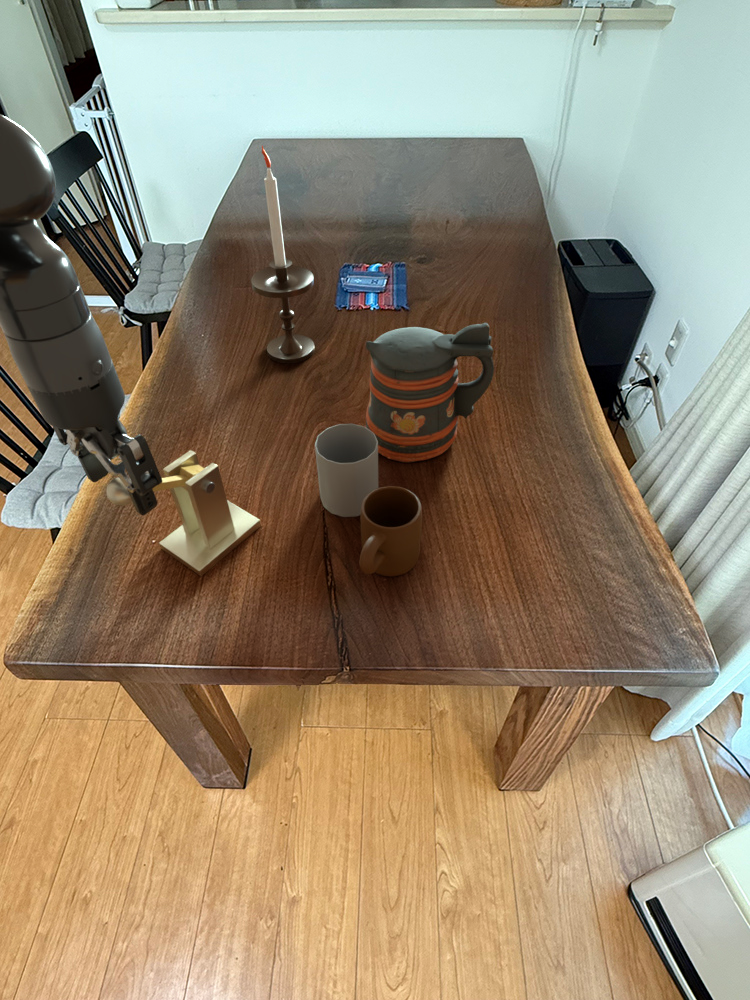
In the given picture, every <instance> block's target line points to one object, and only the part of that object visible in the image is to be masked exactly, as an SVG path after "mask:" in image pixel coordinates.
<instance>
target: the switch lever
mask: <svg viewBox="0 0 750 1000" xmlns="http://www.w3.org/2000/svg"><path fill="white" fill-rule="evenodd" d="M205 468H206V467H203V466H202V465H201V464H199V465H193V466H187V467H181V469H180V475H177V476H171V477H166V476H165V477H161V478H162V483H160V484H159V485H157V486H156V487H154V488H153V492H154V493H156V492H160V491H165V490H170V488H176V487H182V488H184V489H185V490H187V487H186V484H185V482H187V481H188V480H189V479H191V478H192V477H194V476H195V475H196V474H198V473H199V472H200V471H202V470H203V469H205ZM187 491H188V490H187ZM106 497H107V498H108V501H110V502H111V503H112V504H113V505H116V506H118V507H126V506H129V505H131V504H133V502H132V500H131V497H130V495H129V493H128V490H127V488H126V486H125V485H124V484H123V482H122V481H121V480H120V479H119V477H118V476H117V477H115V478H113V479H112V480H111V481H109V483H108V484H107V486H106Z"/></svg>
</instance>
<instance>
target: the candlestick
mask: <svg viewBox="0 0 750 1000" xmlns="http://www.w3.org/2000/svg"><path fill="white" fill-rule="evenodd" d="M261 154H262V156H263V159H264V162H265V165H266V168H267V169H266V177H264V178H263V180H264V188H265V196H266V205H267V212H268V219H269V225H270V226H269V228H270V235H271V245H272V251H273V258H274V259H273V260H271V261H269V263H268V266H267V267H264V268H262V269H260V270H257V271H256V272H255V273H253V275H252V276H251V279H250V283H251V288H252V290H253V292H255V293H256V294H258V295H259V296H262V297H266V298H271V299H280V302H281V309H282V310H281V311H279V312H278V317H279V319H280V320H281V321H282V322H283V323H282V324H281V329H282V330H283V331H284V333H285V334H283V335H280V336H277V337H275V338H273V339H271V340H270V341H269V342H268V344H267V347H266V352H267V355H268V357H269V359H271V360H273V361H274V362H276V363H279V364H296V363H297V364H298V363H301V362H304V361H306V360H308V359H309V358H311V357H312V356H313V355H314V353H315V350H316V349H315V343H314V341H313V339H311V338H310V337H308V336H305V335H302V334H294V333H293V330H294V329H296V326H295V323H293V322H292V320H293V319H294V317H295V311H293V310H292V309H290V300H289V299H290V298H293V297H297V296H301V295H303V294H305V293H307V292H309V291H310V290H311V289H312V288H313V287H314V282H315V281H314V274H313V273H312V271H311V270H309V269H307V268H306V267H304V266H300V265H296V264H295V265H294V264H293V262H292V260H291V259H288V258H286V252H285V244H284V236H283V226H282V217H281V216H282V215H281V208H280V201H279V199H280V198H279V192H278V191H279V190H278V183H277V178H276V177H275V176H274V175H273V172H272V169H271V165H272V162H271V160H270V157H269V155H268V154H267V152H266V150H265V149H264V145H261Z"/></svg>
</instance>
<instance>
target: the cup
mask: <svg viewBox="0 0 750 1000" xmlns="http://www.w3.org/2000/svg"><path fill="white" fill-rule="evenodd" d="M314 451H315V458H316V459H315V460H316V461H315V462H316V468H317V469H316V470H317V479H318V487H319V488H318V489H319V498H320V501H321V505H322V507H323V508H325V510H327V512H329V513H330V514H331V515H336V516H339V517H341V518H355V517H359V516H361V505H362V502H363V500H364V498H365V497H366V496H367V495H368V494H369V493H370V492H371V491H373V490H375V489H377V488H379V453H378V441H377V438H376V436H375V434H374V433H373V432H372V431H370V430H369V429H367V428H366V427H365V426H363V425H360V424H355V423H339V424H336V425H332V426H330V427H326V428H325V429H324V430H323V431H322V432H321V433H319V434H318V435H317V436H316V440H315V442H314Z"/></svg>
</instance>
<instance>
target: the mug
mask: <svg viewBox="0 0 750 1000" xmlns="http://www.w3.org/2000/svg"><path fill="white" fill-rule="evenodd" d="M422 510H423V507H422V502H421V500H420V499H419V497H418V495H416V494H415V493H414V492H412V491H411V490H409V489H407V488H405V487H401V486H396V485H386V486H381V487H378V488H377V489H375V490H373V491H371V492H370V493H369V494H368V495H367V496H366V497H365V498H364V500H363V502H362V505H361V515H359V516H360V540H361V541H360V543H361V552H360V555H359V569H360V570H361V572H362V573H364V574H365V575H371V574H374V573H376V574H377V575H380V576H384V577H397V576H401V575H405V574H407V573H409V571H411V570H412V569H413V568H414V567H415V566H416V565H417V563H418V560H419V557H420V551H421V540H422V539H421V538H422V525H423V511H422Z"/></svg>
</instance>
